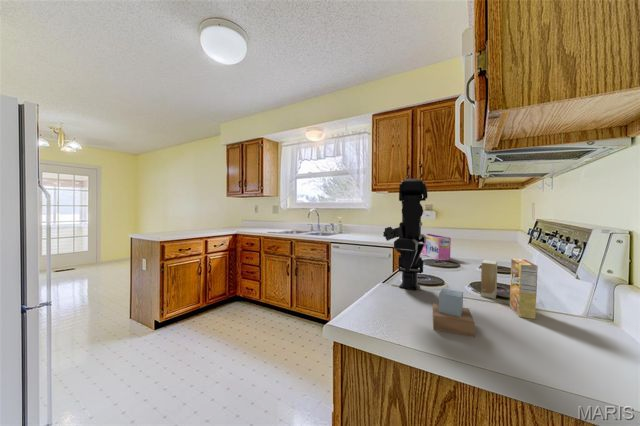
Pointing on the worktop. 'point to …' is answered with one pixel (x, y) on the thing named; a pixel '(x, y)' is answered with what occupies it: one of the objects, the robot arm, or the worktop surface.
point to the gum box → (437, 246)
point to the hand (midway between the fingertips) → (410, 267)
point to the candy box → (523, 288)
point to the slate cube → (451, 302)
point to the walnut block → (453, 322)
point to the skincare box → (489, 279)
